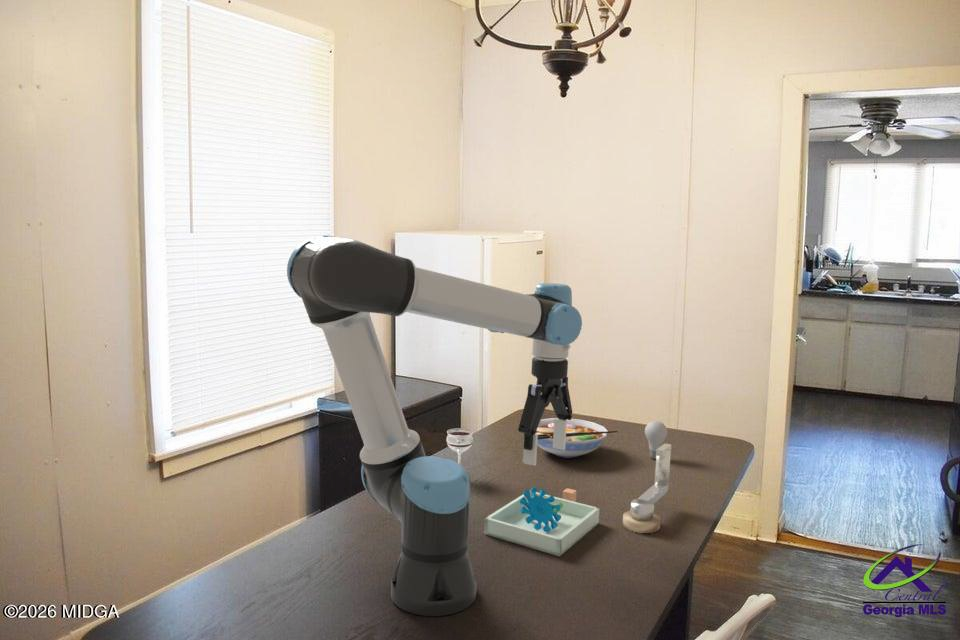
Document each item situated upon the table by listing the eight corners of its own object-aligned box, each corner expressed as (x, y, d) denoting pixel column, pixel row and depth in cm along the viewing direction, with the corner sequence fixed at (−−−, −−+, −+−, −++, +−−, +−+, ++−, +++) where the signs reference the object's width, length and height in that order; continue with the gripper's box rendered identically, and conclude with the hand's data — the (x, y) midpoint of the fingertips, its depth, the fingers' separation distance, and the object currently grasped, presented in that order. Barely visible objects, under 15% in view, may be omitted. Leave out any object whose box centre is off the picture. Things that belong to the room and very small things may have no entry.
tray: (559, 556, 146) (560, 539, 145) (484, 534, 155) (484, 518, 155) (598, 523, 162) (599, 508, 162) (528, 504, 172) (529, 490, 171)
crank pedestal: (652, 537, 156) (653, 528, 156) (617, 527, 160) (617, 518, 160) (664, 524, 163) (665, 515, 163) (630, 515, 167) (630, 507, 167)
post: (571, 510, 169) (572, 493, 169) (561, 507, 170) (562, 491, 170) (575, 506, 171) (576, 490, 171) (566, 504, 172) (567, 488, 172)
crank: (648, 523, 158) (652, 467, 156) (626, 517, 161) (630, 462, 159) (675, 497, 173) (678, 445, 171) (654, 492, 176) (657, 441, 174)
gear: (530, 530, 152) (517, 486, 158) (516, 542, 156) (503, 498, 161) (572, 527, 158) (558, 485, 163) (558, 539, 162) (544, 496, 167)
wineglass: (473, 473, 191) (474, 428, 190) (470, 482, 185) (471, 436, 183) (447, 472, 192) (448, 427, 190) (443, 481, 185) (444, 435, 184)
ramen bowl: (588, 439, 224) (589, 413, 223) (625, 463, 202) (626, 434, 201) (511, 444, 216) (512, 417, 215) (541, 470, 195) (542, 441, 194)
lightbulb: (668, 458, 208) (670, 420, 206) (661, 464, 203) (663, 425, 201) (647, 454, 211) (649, 416, 210) (639, 459, 206) (642, 421, 205)
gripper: (538, 369, 141) (532, 475, 144) (591, 352, 162) (585, 445, 165) (504, 363, 145) (499, 467, 148) (560, 348, 166) (555, 439, 169)
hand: (544, 456), depth 156 cm, fingers open, 13 cm apart
